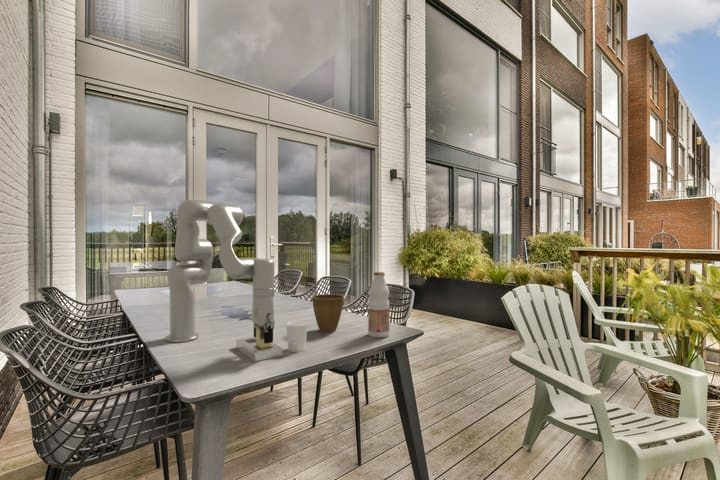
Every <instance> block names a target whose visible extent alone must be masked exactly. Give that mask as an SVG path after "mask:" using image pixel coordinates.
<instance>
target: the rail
mask: <svg viewBox="0 0 720 480" xmlns="http://www.w3.org/2000/svg"><path fill="white" fill-rule="evenodd" d="M235 348H236V349H237V350H238V351H240V352H241V353H242V354H244V355H246V356H247V357H248V358H250V359H251V360H252V361H254V362H259V361H265V360H269V359H274V358H280V357H283V347H281V346H280V345H278V344H277V343H274V341H273V342H272V343H271V348H268V349H263V350H258V349H257V348H256V337H254V336H252V337H251V336H250V337H247V338H246V337H245V338H239V339H236V340H235Z"/></svg>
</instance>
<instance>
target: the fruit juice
mask: <svg viewBox="0 0 720 480" xmlns="http://www.w3.org/2000/svg"><path fill="white" fill-rule="evenodd" d="M385 275H386V274H385V272H384V271H373V280H372V283H371V286H370V287H369V289H368V295H369V296H368V297H369V301H368V306H367V307H368V311H367V313H368V317H367V318H368V319H367V321H368V322H367V323H368V325H367V327H368V328H367V329H368V332H367V333H368V336H370V337H371V338H376V339H377V338H381V337H382V338H387V337H389V336H390V313H391V312H390V308H391V307H390V300H389V297H390V289H389V287H388V284H387V283H386V279H385Z"/></svg>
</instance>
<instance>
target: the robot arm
mask: <svg viewBox="0 0 720 480" xmlns="http://www.w3.org/2000/svg"><path fill="white" fill-rule="evenodd" d="M197 221H198V222H208V223H209V222H210V224H211V227H212V228H213V230H214V231H215V233H216V235H217V237H218V239H219V242H220V244H219V249H218V258H219V259H218V260H219V262H220V265H221V266H222V268H223V270H224V272H225V274H227V276H229V278H230V279H233V280H241V279H251V278H252V303H251V304H252V308H251V322H252V323H253V337H256V328H255V325H259V326H263V325H264V329H265V332H264V343H265V344H266V343H272V342H273V343H274V331H275V330H274V328H275V324H276V323H275V320H274V319H275V314H274V313H275V309H274V306H275V305H274V297H275V261H274V260H273V259H269V258H257V257H239V258H238V257H237V255H236V253H235V252H234V249H233V245H235V244H236V243H238V242H239V241H240V240H241V239H242V236H243V232H242V230H241V229H240V227H239V225H241V224H242V222H243V221H244V213H243V210H242V209H241V208H240V207H239V206H237V205H234V204H226V203H222V202H217V201H208V200H199V199H188V200H184V201H182V202H180V204H179V205H178V207H177V210H176V222H177V230H176V237H175V245H174V257H175V258H176V260H178V261H179V262H193V263H178V264H175V265H172V266H171V267H170V268H169V269H168V270H167V274H166V275H167V276H166V277H167V283H168V289H169V335H166V336H165V341H166V342H168V343H183V342H184V343H185V342H190V341H194V340H196V339H198V338H199V337H200V335H199V334H200V333H198V332H196V312H195V311H196V295H195V292H194V290H193V289H192V287H191V286H198V285H203V284H206V283H207V282H208V281H209V280H210V278H211V274H212V266H213V259H214V246H213V244H212V243H211V241H209V239H205V238H200V231H201V230H200V226H199V224H198V223H197ZM194 262H195V263H194ZM267 326H268V328H267Z"/></svg>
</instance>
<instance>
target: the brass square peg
mask: <svg viewBox="0 0 720 480" xmlns="http://www.w3.org/2000/svg"><path fill="white" fill-rule="evenodd" d="M255 328H256V348H257V349H258V350H263V349H268V348H271V343H266V344H265V343H264V332H265V329H264V325H263V326H259V325H255ZM267 328H268V326H267Z"/></svg>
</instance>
